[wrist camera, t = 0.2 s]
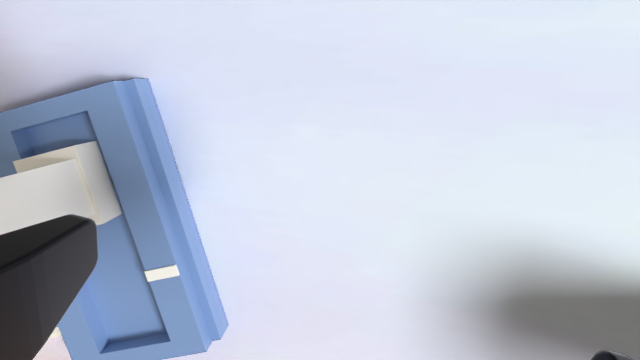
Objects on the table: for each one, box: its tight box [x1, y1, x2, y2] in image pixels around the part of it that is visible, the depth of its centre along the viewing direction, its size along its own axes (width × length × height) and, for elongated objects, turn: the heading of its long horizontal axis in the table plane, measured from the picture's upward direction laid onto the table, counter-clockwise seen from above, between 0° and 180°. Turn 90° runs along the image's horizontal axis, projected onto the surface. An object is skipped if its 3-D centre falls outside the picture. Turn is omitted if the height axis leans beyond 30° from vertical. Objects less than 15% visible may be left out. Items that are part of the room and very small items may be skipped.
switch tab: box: [0, 140, 124, 235], centre depth 18 cm, size 4×3×9 cm
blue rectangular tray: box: [0, 78, 228, 360], centre depth 23 cm, size 15×9×3 cm, turn 14°
